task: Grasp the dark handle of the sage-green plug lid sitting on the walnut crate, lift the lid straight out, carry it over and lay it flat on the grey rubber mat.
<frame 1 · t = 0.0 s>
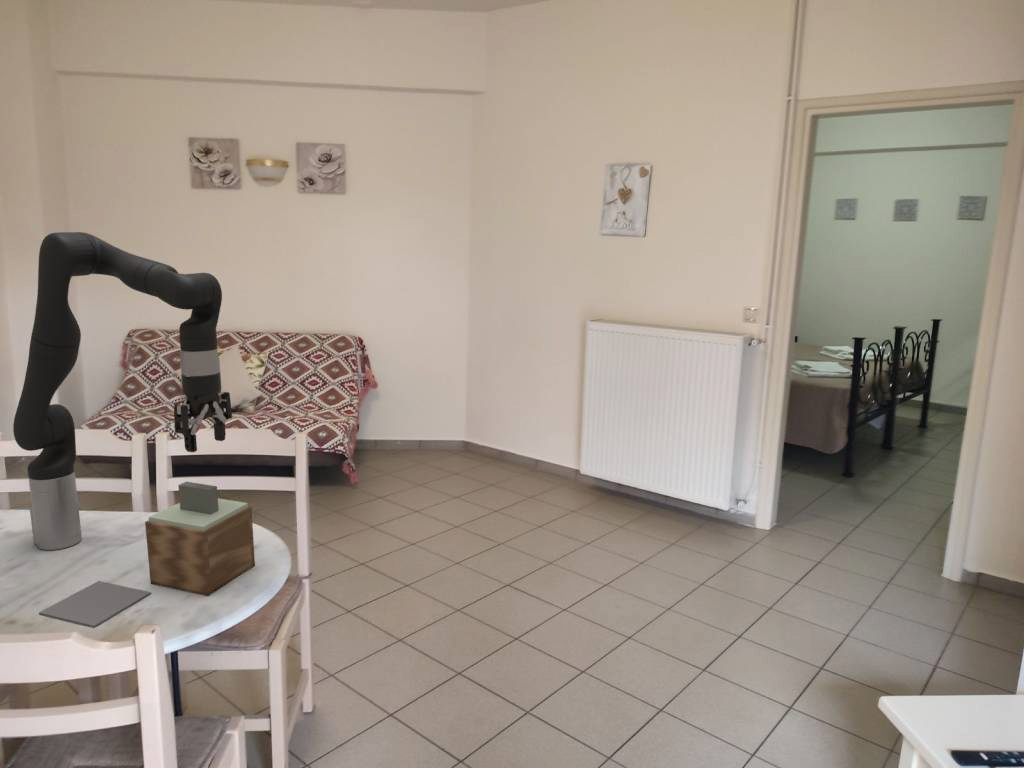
hand: (206, 445, 158), 29 cm above the table, fingers open, 8 cm apart
mat: (96, 603, 150), on the table
lid: (200, 518, 161), point 13 cm above the table, touching crate
crate: (204, 574, 163), on the table
ink box: (197, 540, 181), on the table
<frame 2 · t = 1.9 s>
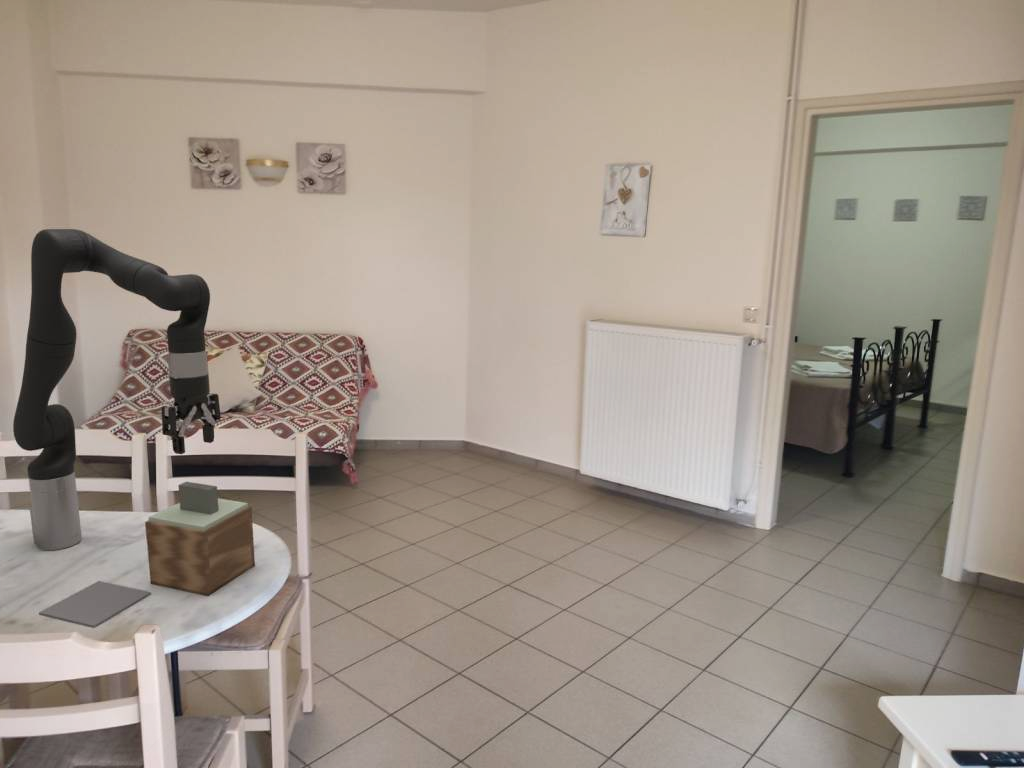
hand: (194, 447, 157), 29 cm above the table, fingers open, 8 cm apart
nothing on the table moved.
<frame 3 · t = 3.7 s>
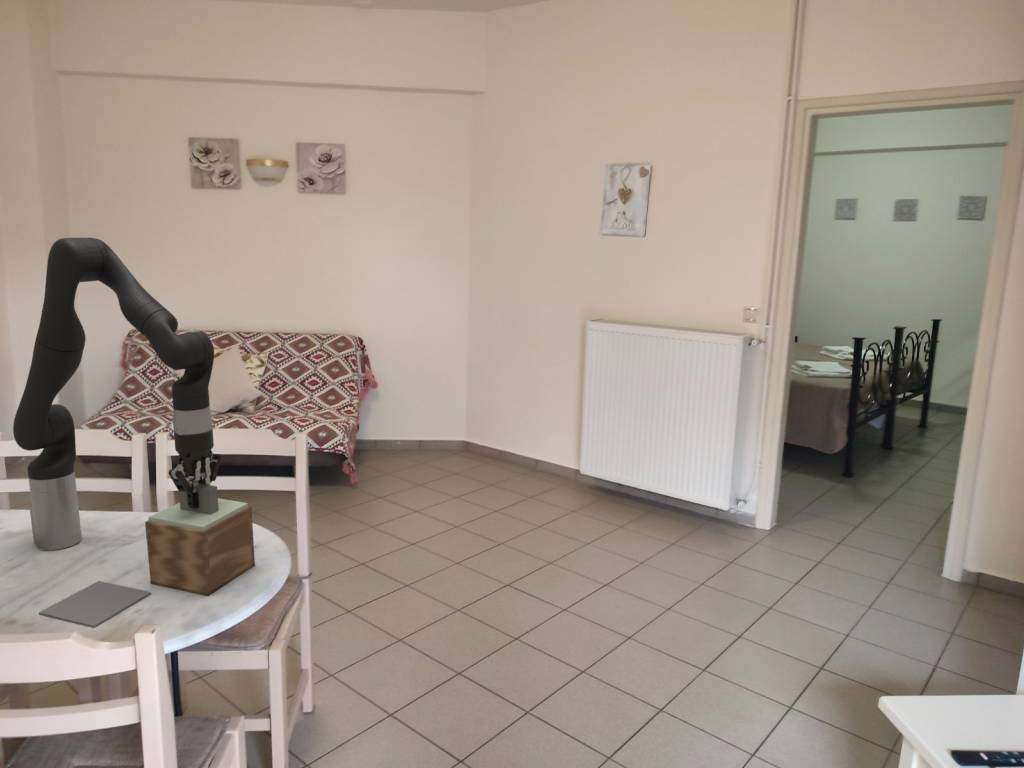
hand: (199, 505, 160), 16 cm above the table, fingers closed on lid, 2 cm apart
lid: (200, 518, 161), point 13 cm above the table, touching crate, gripper
everything else where it was.
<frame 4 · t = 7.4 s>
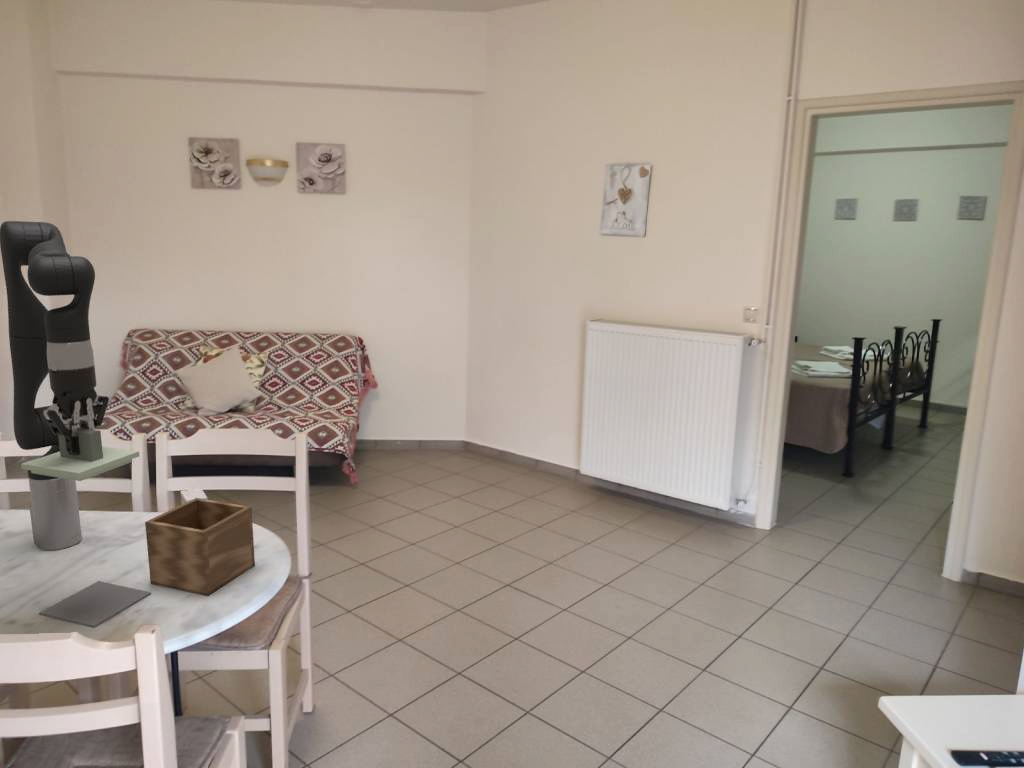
hand: (80, 452, 143), 32 cm above the table, fingers closed on lid, 2 cm apart
lid: (82, 467, 144), point 29 cm above the table, touching gripper
everything else where it was.
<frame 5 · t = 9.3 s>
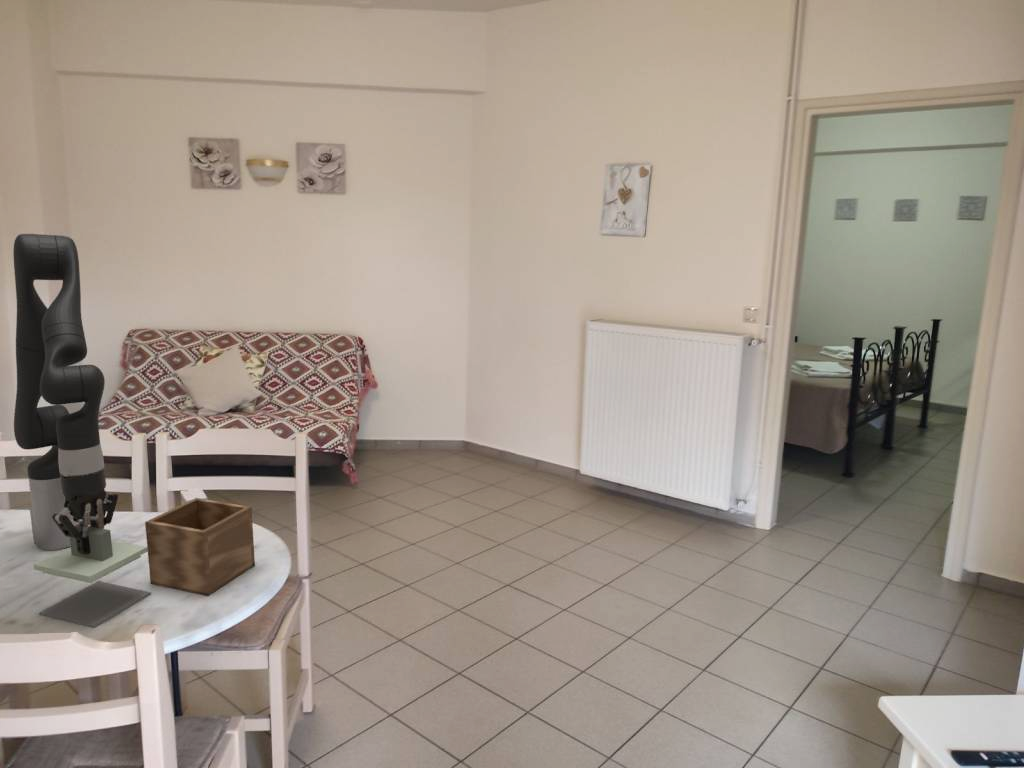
hand: (91, 550, 148), 12 cm above the table, fingers closed on lid, 2 cm apart
lid: (93, 564, 148), point 9 cm above the table, touching gripper
everything else where it was.
when the fingers open (5 cm above the table, at t = 10.9 s): lid drops 1 cm, resting on mat.
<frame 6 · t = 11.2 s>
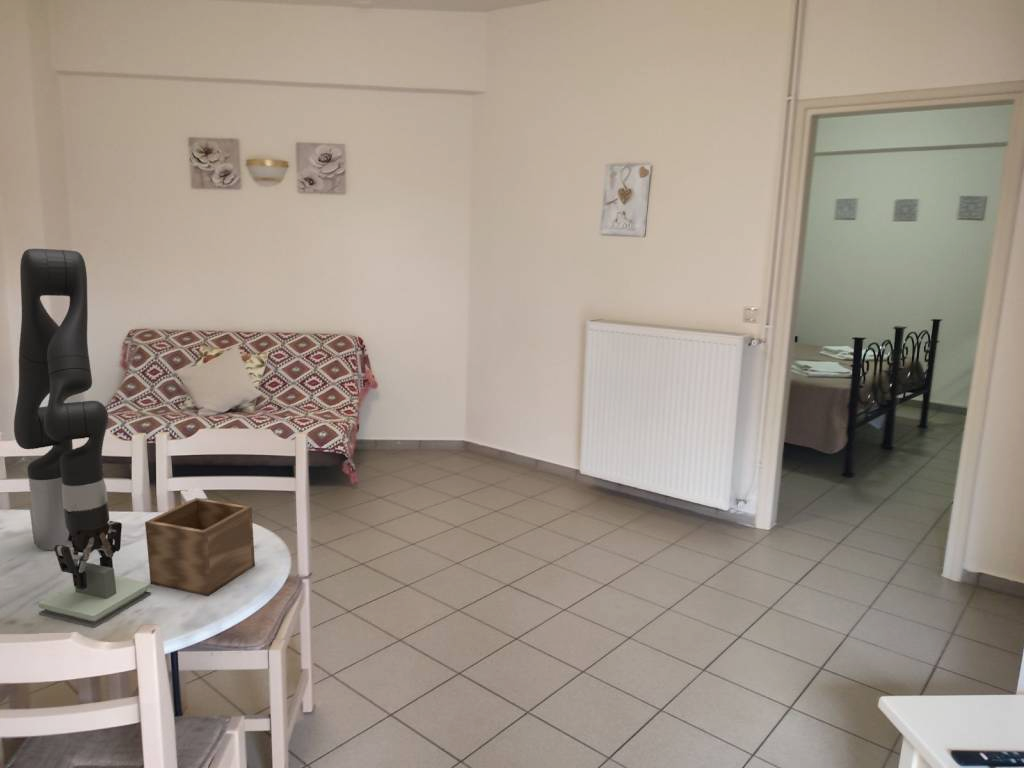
hand: (94, 581, 149), 5 cm above the table, fingers open, 5 cm apart
lid: (97, 601, 150), resting on mat
everything else where it was.
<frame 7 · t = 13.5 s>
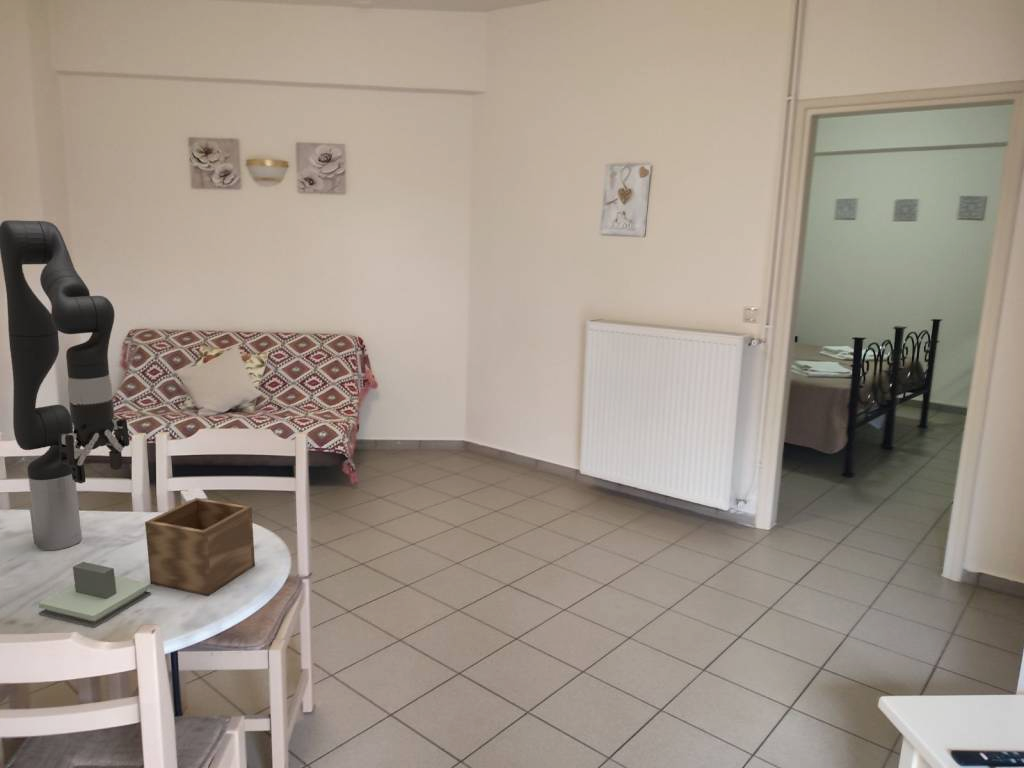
hand: (98, 475, 150), 25 cm above the table, fingers open, 8 cm apart
nothing on the table moved.
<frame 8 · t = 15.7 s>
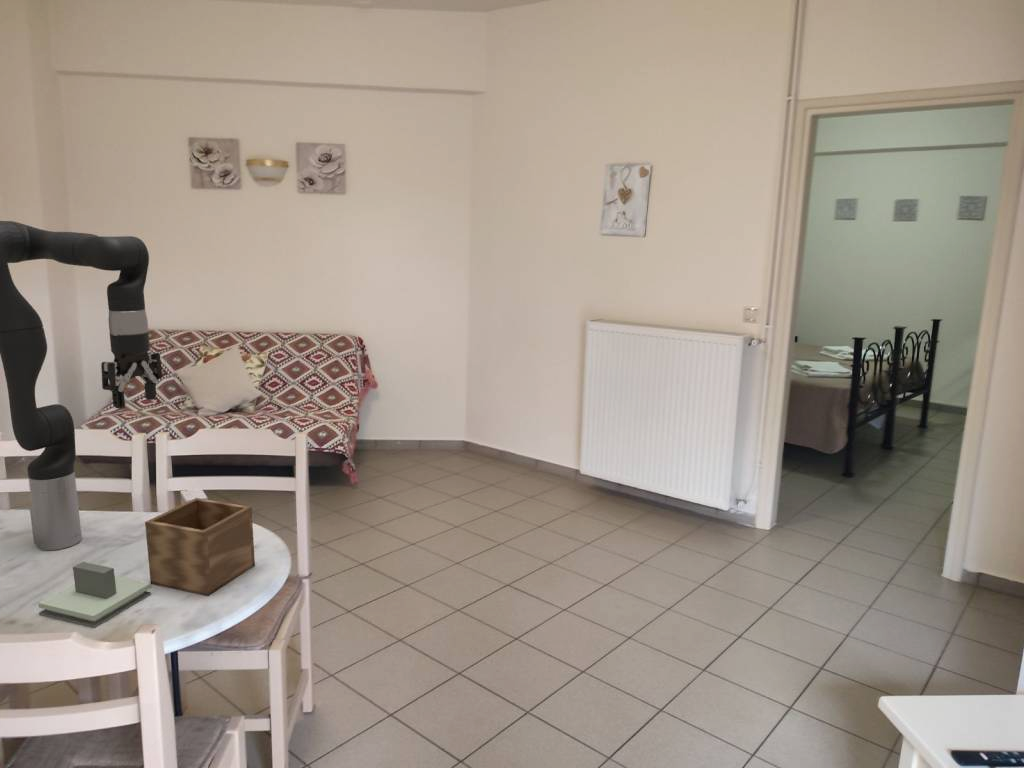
hand: (135, 403, 164), 36 cm above the table, fingers open, 8 cm apart
nothing on the table moved.
at the end: lid inside the target area (0.1 cm from its centre), resting on mat; lid tilted 0°; lid touching mat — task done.
